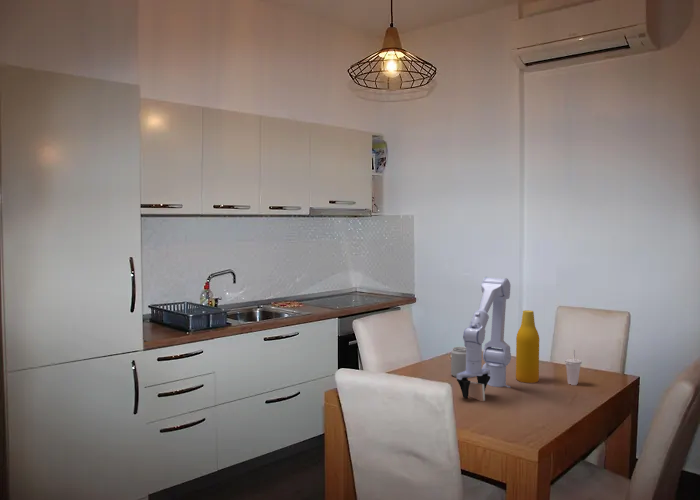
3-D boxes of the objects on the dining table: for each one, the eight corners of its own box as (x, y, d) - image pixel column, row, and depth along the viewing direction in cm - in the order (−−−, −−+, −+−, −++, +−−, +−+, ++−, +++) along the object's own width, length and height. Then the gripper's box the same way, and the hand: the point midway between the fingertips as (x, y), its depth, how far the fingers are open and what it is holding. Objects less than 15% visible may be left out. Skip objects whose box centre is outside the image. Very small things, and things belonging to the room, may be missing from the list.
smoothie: (570, 386, 230) (571, 352, 229) (561, 382, 236) (561, 348, 236) (584, 385, 232) (585, 351, 231) (574, 381, 238) (575, 347, 237)
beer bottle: (529, 376, 246) (530, 308, 244) (543, 382, 237) (544, 312, 235) (511, 378, 242) (512, 310, 241) (524, 384, 234) (525, 313, 232)
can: (456, 372, 252) (456, 345, 251) (472, 375, 247) (472, 347, 246) (447, 376, 246) (448, 348, 245) (463, 379, 241) (463, 351, 241)
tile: (465, 397, 217) (464, 381, 217) (468, 396, 217) (467, 380, 218) (481, 401, 209) (480, 384, 209) (485, 400, 210) (484, 384, 210)
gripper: (465, 364, 206) (465, 401, 207) (496, 359, 213) (495, 395, 214) (453, 360, 212) (452, 396, 213) (482, 355, 219) (482, 390, 220)
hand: (473, 396), depth 214 cm, fingers open, 7 cm apart
